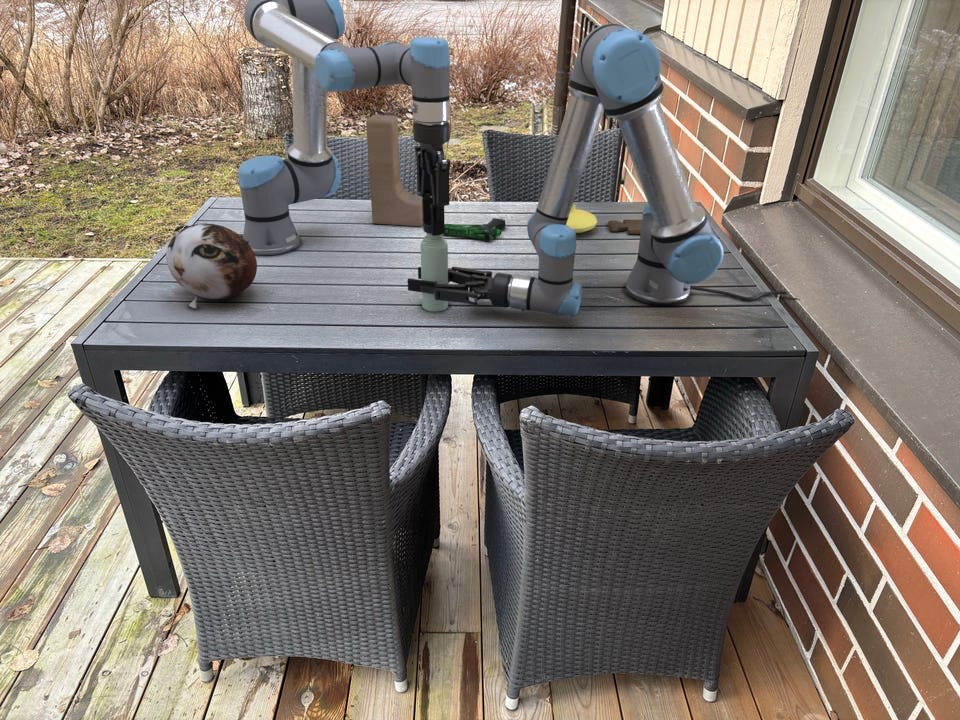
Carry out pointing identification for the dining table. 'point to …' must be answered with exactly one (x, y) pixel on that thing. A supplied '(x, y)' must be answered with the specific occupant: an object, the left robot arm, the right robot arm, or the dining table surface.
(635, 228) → the dark wooden board
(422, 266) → the bottle
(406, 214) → the decorative block
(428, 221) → the cap
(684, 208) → the right robot arm
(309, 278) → the dining table surface
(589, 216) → the yellow low dome
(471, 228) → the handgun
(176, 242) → the cat face balloon
